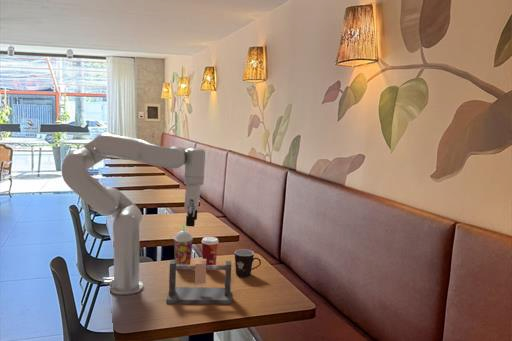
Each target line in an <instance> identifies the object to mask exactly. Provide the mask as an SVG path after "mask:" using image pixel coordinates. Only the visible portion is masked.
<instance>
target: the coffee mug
mask: <svg viewBox="0 0 512 341" xmlns="http://www.w3.org/2000/svg"><path fill="white" fill-rule="evenodd" d="M254 255H255V252H254V251H253V250H251V249H247V248H246V249H245V248H243V249H240V248H239V249H236V250H235V251H234V264H235V275H236V277H239V278H248V277H250V276H251V273H252V270H255V269H257V268H259V267H260V266H261V264H262V260H261V259H260V258H258V257H254ZM254 260H258V262H259V264H258V265H257V266H255V267H253V262H254Z"/></svg>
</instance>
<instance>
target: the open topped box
mask: <svg viewBox="0 0 512 341" xmlns="http://www.w3.org/2000/svg"><path fill="white" fill-rule="evenodd" d="M194 265H195V270H194V283H195V284H206V282H207V281H206V280H207V271H206V259H203V258H195V264H194Z"/></svg>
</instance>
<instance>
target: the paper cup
mask: <svg viewBox="0 0 512 341" xmlns="http://www.w3.org/2000/svg"><path fill="white" fill-rule="evenodd" d="M218 245H219V239H218V238H217V237H214V236H205V237H202V240H201V247H202V248H201V249H202V252H201V253H202V254H201V256H202V259H206V265H217V256H218ZM206 272H214V270H206Z"/></svg>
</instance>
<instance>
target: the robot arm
mask: <svg viewBox="0 0 512 341" xmlns="http://www.w3.org/2000/svg"><path fill="white" fill-rule="evenodd" d="M107 158H114V159H121V160H127V161H132V162H137V163H141V164H145V165H150V166H154V167H158V168H166V169H171V170H172V169H173V170H174V169H175V170H176V169H179V168H181V167H183V166H184V179H183V184H184V185H185V193H184V196H185V197H184V206H183V209H184V210H185V211H186V210H187V211H186V212H187V213H186V217H185V218H186V219H185V220H186V221H185V226H186V227H195V223H196V221H197V220H198V207H199V204H200V197H201V195H200V194H201V186H203V185H204V182H205V180H204V179H205V167H206V166H205V165H206V150H205V149H203V148H197V147H190V148H188V147H183V146H182V147H181V146H176V145H174V146H171V147H167V146H161V145H157V144H152V143H149V142H147V141H145V140H143V139H140V138H135V137H130V136H123V135H117V134H115V133H113V132H111V131H106V132H102V133H100V134H98V135H97V136H96V137H95V138H94V139H92V140H91V141H89V142H87V143H86V144H83V145H82V146H81V147H79V148H77V149H75V150H72V151H71V152H69V153H68V154H67V155H66V156H65V158H64V159H63V162H62V164H61V176H62V178H63V181H64V182H65V184H66V185H67V186H68V187H69V188H70V190H71V191H73V192H74V193H75V194H76V195H77V196H79V197H80V198H81V199H82V200H83V201H84V202H85V203H86V204H88V205H89V206H90V207H91V208H92V209H93V211H95V212H97V213H98V214H99V215H101V216H104V217H105V216H106V217H107V216H110V215H111V216H112V217H113V218H114V219H113V223H112V233H113V276H111V277H107V276H104V277H102V283H103V284H104V285H110V286H109V292H111V293H112V294H114V295H119V296H122V295H123V296H126V295H127V296H128V295H133V294H137V293H138V292H141V291H142V290H143V289H144V283H143V282H142V281H140V225H141V222H142V218H143V214H142V211H141V209H140V208H139V207H138V206H137V205H136V204H135V203H134V202H133V201H132V200H130V199H129V198H128V197H127V196H126V194H124V193H122V191H121V190H119V189H118V188H116V187H111V186H104V185H103V184H101V183H100V182H99V181H98V180H97V179H96V178H94V177H93V176H92V175H90V173H89V172H88V170H89V169H91V168H92V167H94V166H96V165H97V164H99V163H100V162H102V161H103V160H105V159H107Z"/></svg>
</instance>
